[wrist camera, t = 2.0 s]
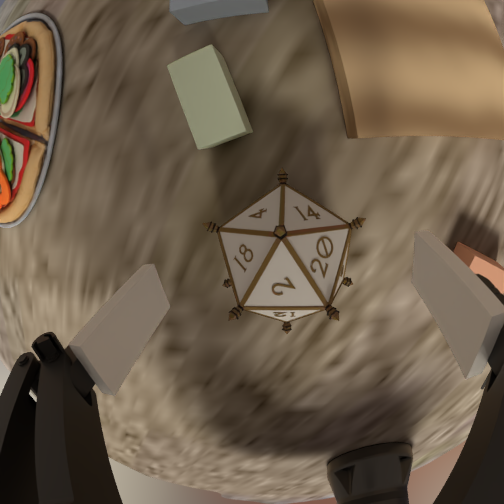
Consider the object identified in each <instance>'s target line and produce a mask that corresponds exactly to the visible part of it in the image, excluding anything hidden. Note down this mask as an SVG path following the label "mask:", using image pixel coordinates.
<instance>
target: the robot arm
mask: <svg viewBox="0 0 504 504" xmlns="http://www.w3.org/2000/svg"><path fill="white" fill-rule="evenodd" d="M412 284H413V285H414V287H415V288H416V290H417V291H418V293H419V295H420V296H421V298H422V299H423V301H424V303H425V304H426V306H427V308H428V309H429V311H430V313H431V314H432V316H433V318H434V319H435V321H436V323H437V325H438V326H439V328H440V330H441V332H442V334H443V335H444V337H445V339H446V341H447V343H448V345H449V347H450V348H451V350H452V352H453V354H454V356H455V358H456V360H457V362H458V364H459V366H460V368H461V371H462V373H463V375H464V377H465V379H468V378H471V377H474V376H476V375H479V374H481V373H482V372H483V370H484V368H485V366H486V364H487V362H488V363H489V365H490V367H491V368H492V369H491V370H490V372H489V374H488V376H487V378H486V380H485V381H484V383H483V385H482V387H481V389H483V388H484V387H485V389H484V392H483V396H482V399H481V402H480V405H479V408H478V411H477V414H476V417H475V420H474V423H473V425H472V428H471V430H470V433H469V435H468V438H467V440H466V443H465V445H464V447H463V450H462V452H461V454H460V456H459V458H458V460H457V462H456V464H455V466H454V468H453V470H452V472H451V474H450V476H449V478H448V479H447V481H446V483H445V485H444V486H443V488H442V490H441V492H440V493H439V495H438V496H437V498H436V500H435V501H434V503H433V504H504V295H503V294H502V293H500V291H499V290H498V289H497V288H495V286H494V285H493V283H492V282H491V281H490V280H489V279H487V278H486V277H484V276H482V275H480V274H479V273H478V274H475V273H474V272H473V271H472V270H471V269H470V268H469V267H468V266H467V265H466V264H465V263H464V262H463V261H462V260H461V259H460V258H459V257H458V256H457V255H455V254H454V253H453V252H452V251H451V250H450V249H449V248H448V247H447V246H446V245H445V244H444V243H443V242H441V241H440V240H439V239H438V238H437V237H436V236H435V235H434V234H432V233H431V232H430V231H429V230H423V231H415V242H414V260H413V273H412ZM169 308H170V304H169V302H168V299H167V297H166V294H165V292H164V289H163V287H162V284H161V281H160V279H159V276H158V273H157V270H156V268H155V265H154V264H147V265H142V266H141V267H140V268H139V269H138V270H137V271H136V272H135V273H134V274H133V275H132V276H131V277H130V278H129V279H128V280H127V281H126V282H125V283H124V284H123V285H122V286H121V287H120V288H119V289H118V291H117V292H116V293H115V294H114V295H113V296H112V297H111V298H110V299H109V300H108V301H107V302H106V303H105V304H104V305H103V306H102V307H101V308H100V310H99V311H98V312H97V313H96V314H95V315H94V316H93V317H92V318H91V319H90V321H89V322H88V323H87V324H86V325H85V326H84V327H83V328H82V329H81V331H80V332H79V333H78V334H77V335H76V336H75V337H74V339H73V340H72V341H71V342H70V343H69V344H68V346H67V348H66V349H65V350H64V348H63V347H62V345H61V344H60V342H59V340H58V339H57V337H56V335H55V334H54V333H53V332H47V333H44V334H42V335H41V336H39V337H38V338H37V339H36V340H35V341H34V342H33V344H32V346H31V347H32V348H33V350H34V351H35V353H36V354H37V356H38V357H39V359H40V361H38V360H37V358H36V357H35V355H34V354H33V353H32V352H27V353H24V354H22V355H21V356H20V357H19V358H18V359H17V361H16V363H15V365H14V367H13V369H12V371H11V373H10V375H9V377H8V379H7V382H6V384H5V386H4V389H3V391H2V393H1V396H0V504H123V503H122V500H121V498H120V495H119V492H118V489H117V486H116V482H115V479H114V476H113V473H112V470H111V465H110V462H109V458H108V454H107V450H106V446H105V441H104V437H103V432H102V427H101V422H100V417H99V411H98V404H97V398H96V393H95V391H94V390H93V389H92V388H93V386H94V385H95V384H96V385H97V386H98V388H99V389H100V390H101V392H102V393H105V394H109V395H113V396H115V395H116V393H117V392H118V390H119V388H120V387H121V385H122V383H123V382H124V380H125V378H126V377H127V375H128V373H129V372H130V370H131V368H132V367H133V365H134V363H135V362H136V360H137V359H138V357H139V355H140V354H141V352H142V351H143V349H144V347H145V346H146V344H147V343H148V341H149V339H150V338H151V336H152V335H153V333H154V331H155V330H156V328H157V327H158V325H159V324H160V322H161V321H162V319H163V317H164V316H165V314H166V313H167V311H168V310H169ZM30 389H31V390H32V391H33V393H34V394H35V395H36V396H37V402H35V401H34V399H33V398H32V397H31V396H30V395H29V392H30ZM412 462H413V453H412V448H411V446H410V445H409V444H406V443H386V444H380V445H374V446H370V447H366V448H362V449H358V450H355V451H352V452H349V453H346V454H344V455H342V456H339V457H337V458H336V459H334V460H332V461H331V462H330V463H329V464H328V466H327V478H328V481H329V483H330V486H331V488H332V491H333V493H334V496H335V498H336V501H337V504H409V499H408V491H407V485H408V481H409V476H410V472H411V467H412Z"/></svg>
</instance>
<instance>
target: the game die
mask: <svg viewBox="0 0 504 504" xmlns="http://www.w3.org/2000/svg"><path fill="white" fill-rule="evenodd" d="M277 175H278V180H279V182H280V184H279V185H278V186H276V187H275V188H273V189H272V190H271V191H269V192H268V193H266V194H265V195H263V196H262V197H261V198H259V199H258V200H256V201H255V202H254V203H252V204H251V205H249V206H248V207H246V208H245V209H244V210H242V211H241V212H239V213H238V214H237V215H235V216H234V217H233V218H231V219H230V220H228V221H227V222H226V223H224V224H223V225H222V226H220V227H218V226H217V225H216V224H215V223H212V222H208V223H203V225H204V226H205V228H206V229H207V231H211V233H212V232H216V233H217V234H218V237H219V241H220V245H221V249H222V252H223V256H224V259H225V263H226V267H227V270H228V274H229V277H230V279H227V280H225V281H224V284H223V286H225V287H227V288H228V287H230V286H232V288H233V291H234V295H235V298H236V302H237V305H238V306H237V307H236V308H235V307H234V308H233V309H232V310H231V311H230V312H229V313H230V314H229V320H233V319H238V317H239V316H241V312H242V311H243V310H245V311H249V312H252V313H255V314H259V315H262V316H265V317H269V318H272V319H276V320H279V321H283V322H284V324H283V329H282V330H284V331H285V332H286V334H288V332H289V331H290V330H292V329H291V324H290V321H294V320H297V319H300V318H303V317H306V316H309V315H312V314H315V313H318V312H320V311H323V310H326V311H327V316H328V315H329V317H330V318H329V319H334V320H338V321H339V311H337V310H336V308H334V307H332V306H331V304H332V302H333V300H334V298H335V296H336V294H337V292H338V290H339V288H340V286H341V284H342V283H343V284H344V285H346V286H348V287H349V286H350V285H353V283H352V281H351V278H348V277H346V278H344V276H345V270H346V264H347V258H348V252H349V245H350V238H351V231H352V229H353V228H357V229H358V227H362V224H363V223H364V221H365V219H366V218H358V217H357V218H356V219H355V220H354V219H353V220H352V222H351V223H348V222H347V221H345V220H343V219H342V218H340V217H339V216H337V215H336V214H334V213H333V212H331V211H330V210H328V209H326V208H325V207H323V206H322V205H320V204H318V203H317V202H315V201H314V200H312V199H310V198H309V197H307V196H305V195H304V194H302V193H300V192H299V191H297V190H295V189H294V188H292V187H290V186H289V185H287V184H286V180H287V179H288V178H287V175H288V174H286V172H285V171H284V170H283V168H281V170H280V172H279V174H277ZM229 320H228V321H229Z"/></svg>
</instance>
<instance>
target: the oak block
mask: <svg viewBox="0 0 504 504" xmlns="http://www.w3.org/2000/svg"><path fill="white" fill-rule="evenodd" d="M313 3H314V5H315V8H316V11H317V14H318V17H319V20H320V23H321V26H322V29H323V33H324V36H325V39H326V43H327V46H328V50H329V53H330V57H331V61H332V65H333V69H334V73H335V77H336V81H337V86H338V90H339V95H340V99H341V104H342V109H343V114H344V120H345V125H346V131H347V137H348V138H371V137H390V136H457V137H475V138H488V139H498V140H504V49H503V46H502V43H501V40H500V37H499V35H498V32H497V29H496V27H495V24H494V22H493V20H492V17H491V15H490V13H489V10H488V8H487V6H486V4H485V2H484V0H313Z"/></svg>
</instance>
